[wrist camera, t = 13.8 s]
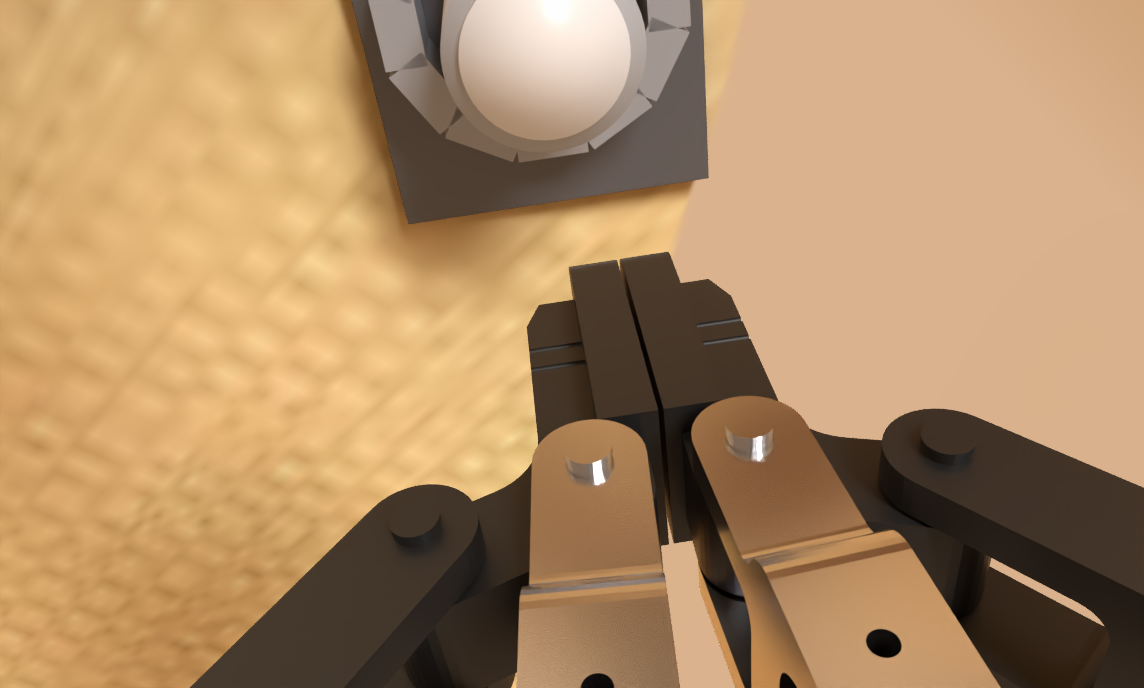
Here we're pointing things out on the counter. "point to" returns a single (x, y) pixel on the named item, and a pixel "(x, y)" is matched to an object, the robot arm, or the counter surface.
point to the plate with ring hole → (522, 178)
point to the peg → (542, 67)
